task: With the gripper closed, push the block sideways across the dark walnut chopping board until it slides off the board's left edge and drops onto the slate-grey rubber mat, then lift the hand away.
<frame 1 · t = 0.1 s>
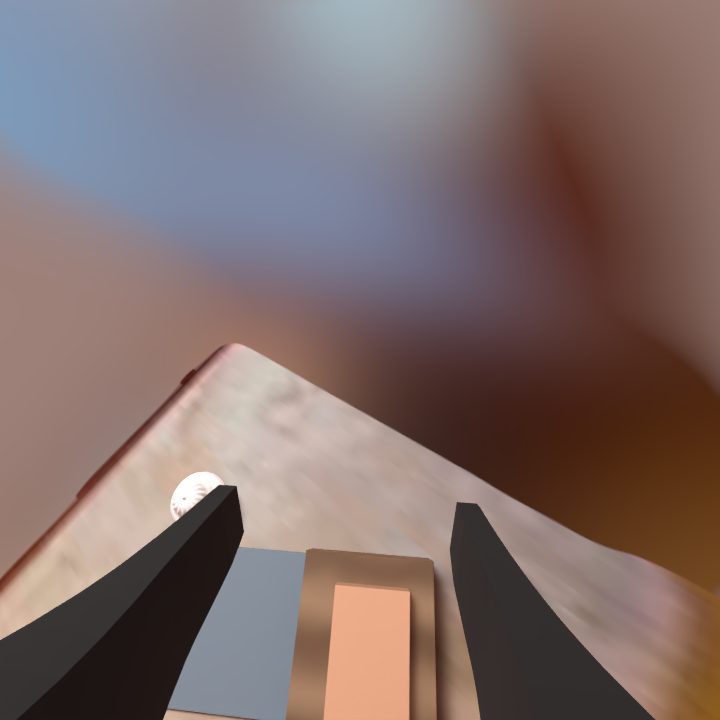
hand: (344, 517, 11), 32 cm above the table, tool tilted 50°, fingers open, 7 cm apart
board: (365, 636, 35), on the table
mat: (238, 623, 36), on the table
block: (369, 649, 32), point 4 cm above the table, touching board
muffin: (213, 502, 42), on the table
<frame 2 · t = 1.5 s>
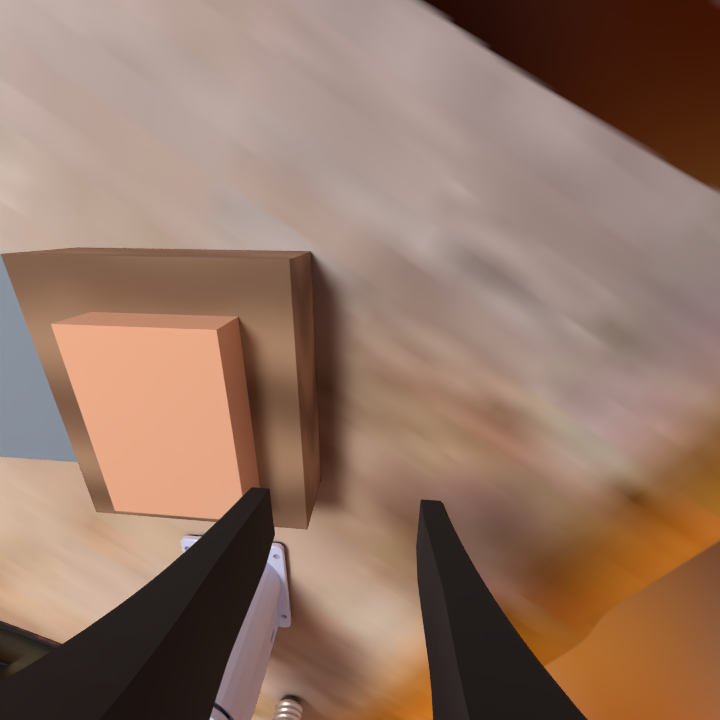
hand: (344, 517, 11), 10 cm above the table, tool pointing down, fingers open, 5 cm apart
board: (212, 376, 21), on the table
mat: (12, 367, 22), on the table
block: (183, 410, 17), point 4 cm above the table, touching board
lightbulb: (291, 696, 34), on the table
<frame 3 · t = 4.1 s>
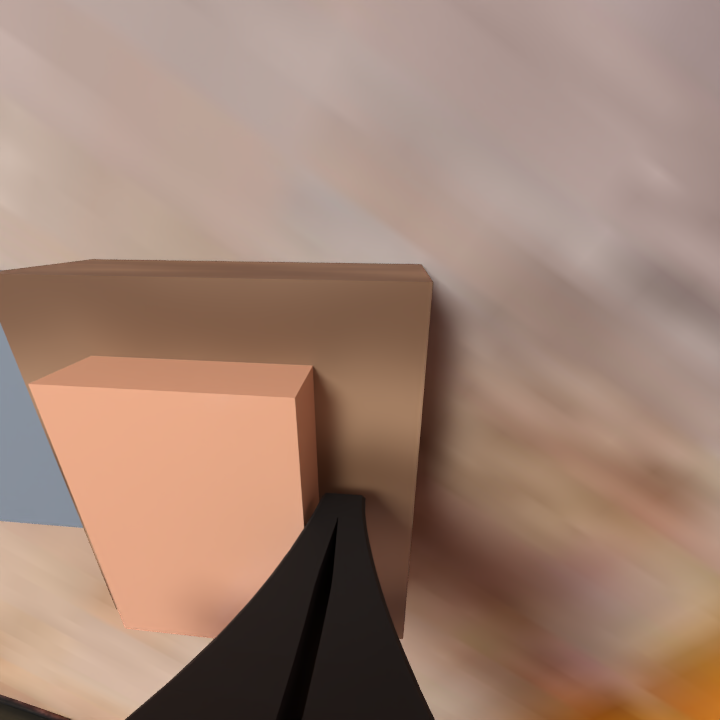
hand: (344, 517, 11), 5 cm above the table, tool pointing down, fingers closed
board: (268, 428, 16), on the table
mat: (5, 413, 17), on the table
block: (222, 489, 12), point 4 cm above the table, touching board, gripper
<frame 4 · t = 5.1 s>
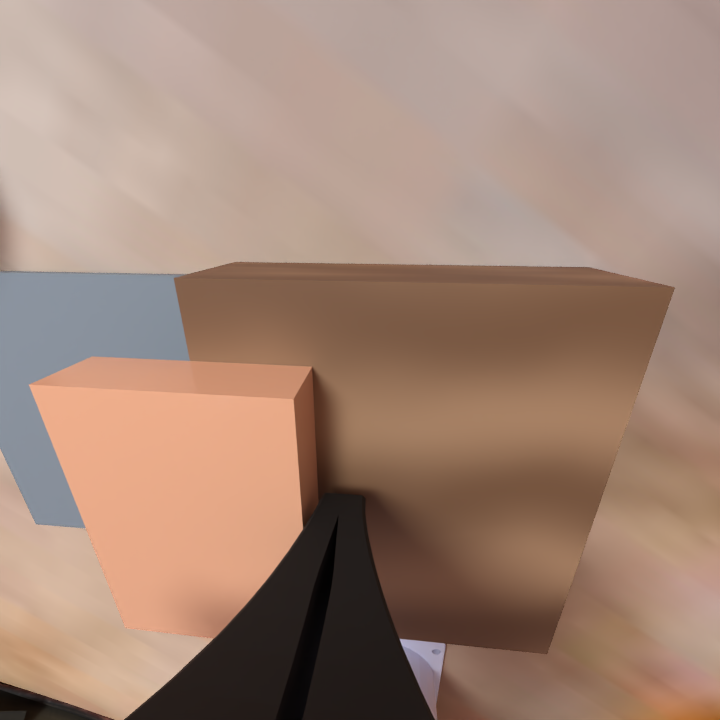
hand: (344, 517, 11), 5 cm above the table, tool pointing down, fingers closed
board: (395, 435, 15), on the table
mat: (116, 420, 17), on the table
diary: (4, 715, 31), on the table
block: (222, 489, 12), point 4 cm above the table, touching board
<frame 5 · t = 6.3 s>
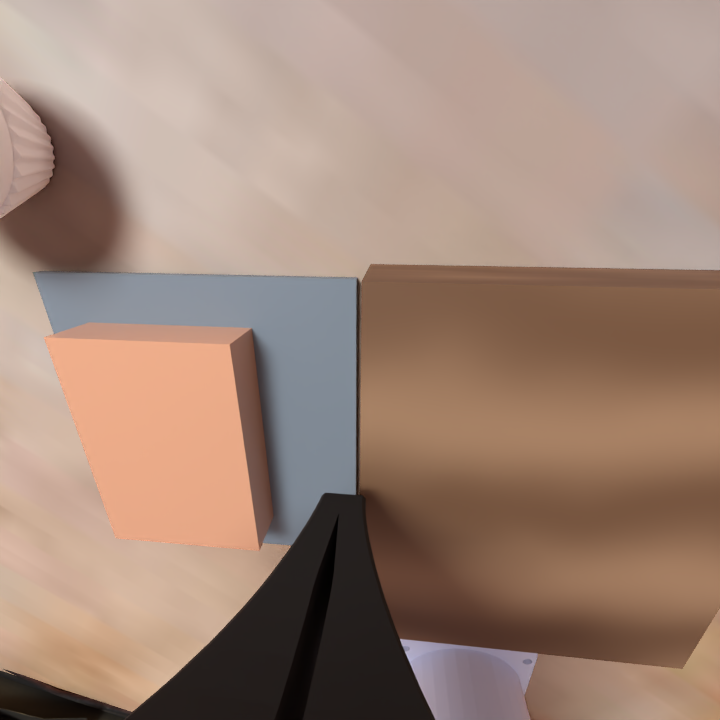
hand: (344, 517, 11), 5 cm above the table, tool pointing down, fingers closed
board: (514, 442, 15), on the table
mat: (219, 425, 16), on the table
block: (163, 456, 14), point 2 cm above the table, tilted 180°, touching mat
muffin: (18, 144, 13), on the table
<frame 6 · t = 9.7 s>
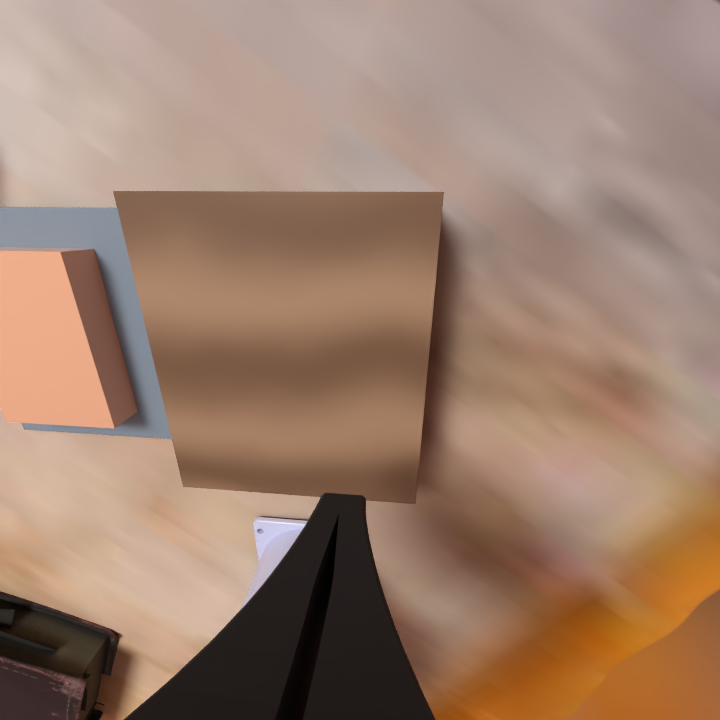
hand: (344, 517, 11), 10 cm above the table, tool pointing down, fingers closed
board: (306, 342, 20), on the table
mat: (87, 333, 21), on the table
block: (30, 346, 19), point 2 cm above the table, tilted 180°, touching mat
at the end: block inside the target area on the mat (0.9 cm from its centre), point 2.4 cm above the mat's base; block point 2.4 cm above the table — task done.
